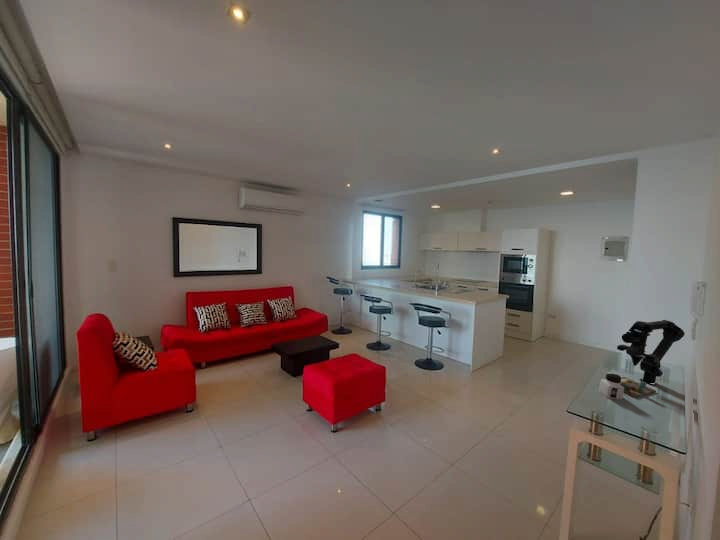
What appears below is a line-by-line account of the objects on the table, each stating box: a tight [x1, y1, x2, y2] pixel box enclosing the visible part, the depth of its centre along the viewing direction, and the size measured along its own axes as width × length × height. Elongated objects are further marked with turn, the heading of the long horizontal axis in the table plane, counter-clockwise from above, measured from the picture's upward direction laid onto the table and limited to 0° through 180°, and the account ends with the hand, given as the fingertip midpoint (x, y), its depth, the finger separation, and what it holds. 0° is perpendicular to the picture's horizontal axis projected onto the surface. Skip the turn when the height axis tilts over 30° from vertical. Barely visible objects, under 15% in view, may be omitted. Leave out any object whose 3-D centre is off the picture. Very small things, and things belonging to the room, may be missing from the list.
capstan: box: [621, 377, 647, 394], centre depth 175 cm, size 14×11×6 cm
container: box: [598, 372, 624, 401], centre depth 168 cm, size 8×8×13 cm
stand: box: [620, 376, 657, 399], centre depth 177 cm, size 20×16×6 cm
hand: (634, 365), depth 181 cm, fingers closed
